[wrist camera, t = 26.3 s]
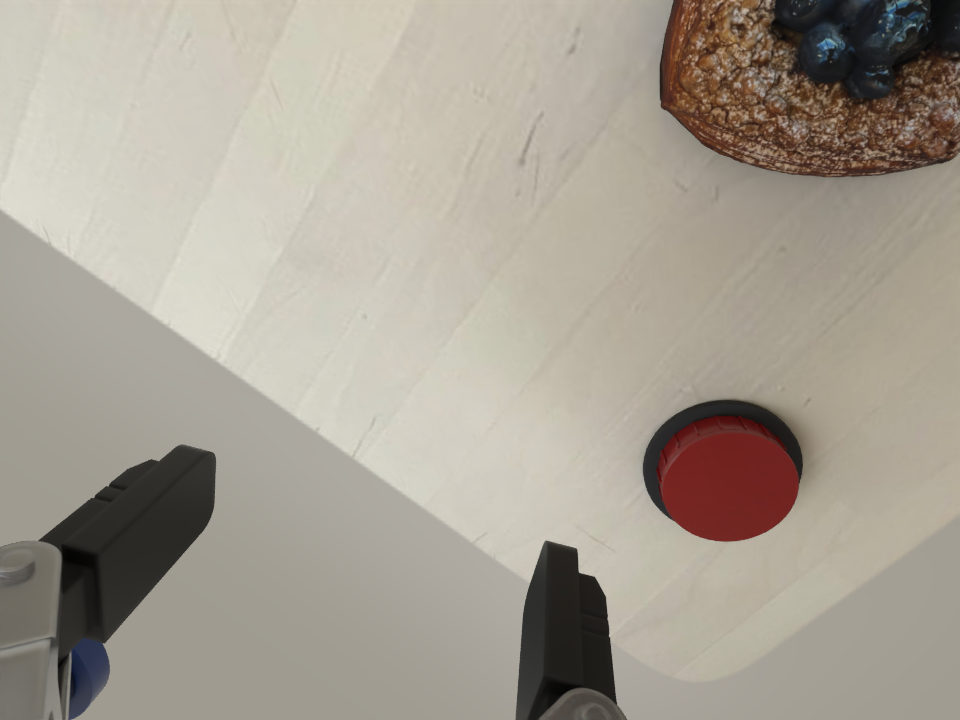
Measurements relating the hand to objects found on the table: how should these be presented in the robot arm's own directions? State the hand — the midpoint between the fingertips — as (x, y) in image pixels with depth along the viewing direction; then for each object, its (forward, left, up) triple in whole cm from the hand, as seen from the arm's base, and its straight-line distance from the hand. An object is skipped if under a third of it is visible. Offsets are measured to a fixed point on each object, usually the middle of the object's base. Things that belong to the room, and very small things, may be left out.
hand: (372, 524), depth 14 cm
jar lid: (-3, -13, -12) cm, 18 cm away
